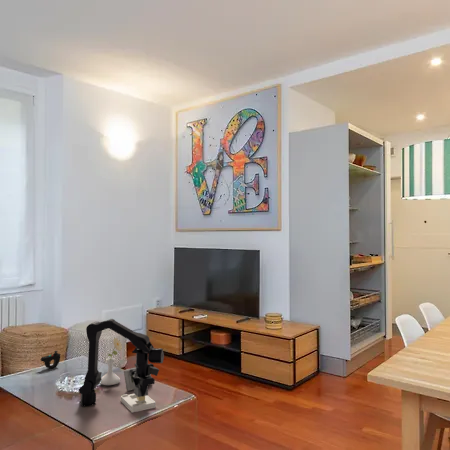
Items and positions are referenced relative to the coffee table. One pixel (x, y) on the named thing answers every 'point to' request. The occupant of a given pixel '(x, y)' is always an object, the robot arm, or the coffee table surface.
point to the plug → (139, 393)
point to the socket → (137, 403)
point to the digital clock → (129, 380)
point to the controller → (49, 358)
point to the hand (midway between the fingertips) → (141, 394)
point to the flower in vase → (110, 376)
